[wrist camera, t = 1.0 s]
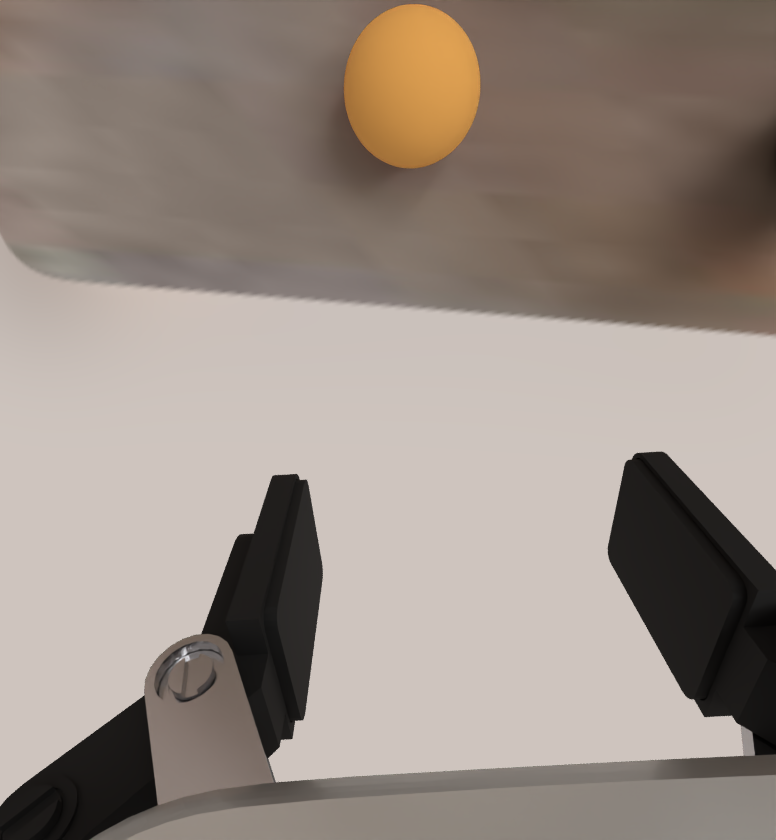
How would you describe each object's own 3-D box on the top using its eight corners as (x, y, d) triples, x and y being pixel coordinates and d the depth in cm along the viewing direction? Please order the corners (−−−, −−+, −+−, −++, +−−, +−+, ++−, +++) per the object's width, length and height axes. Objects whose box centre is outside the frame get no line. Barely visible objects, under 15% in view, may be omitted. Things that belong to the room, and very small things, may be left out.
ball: (469, 16, 21) (496, -22, 16) (467, 161, 24) (490, 165, 19) (341, 26, 21) (330, -9, 16) (353, 170, 24) (347, 176, 19)
